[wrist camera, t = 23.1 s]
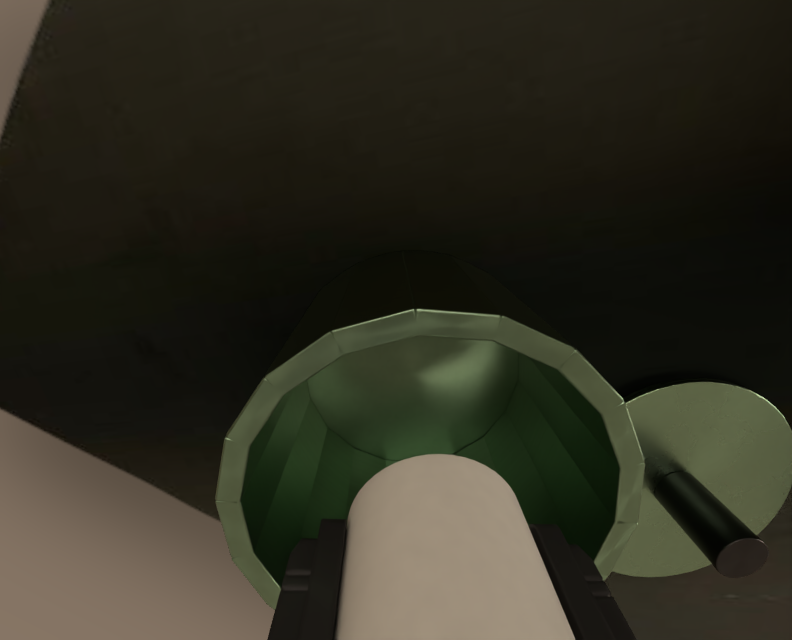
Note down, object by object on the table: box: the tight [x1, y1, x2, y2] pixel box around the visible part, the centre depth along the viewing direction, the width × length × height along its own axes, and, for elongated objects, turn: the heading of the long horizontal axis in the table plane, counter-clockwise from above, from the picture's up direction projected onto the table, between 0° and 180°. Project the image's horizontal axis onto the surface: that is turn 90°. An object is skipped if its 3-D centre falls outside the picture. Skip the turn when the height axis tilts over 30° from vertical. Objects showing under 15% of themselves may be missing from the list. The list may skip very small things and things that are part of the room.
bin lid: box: [612, 378, 792, 578], centre depth 23 cm, size 15×15×6 cm
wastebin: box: [215, 251, 645, 610], centre depth 18 cm, size 14×14×11 cm
